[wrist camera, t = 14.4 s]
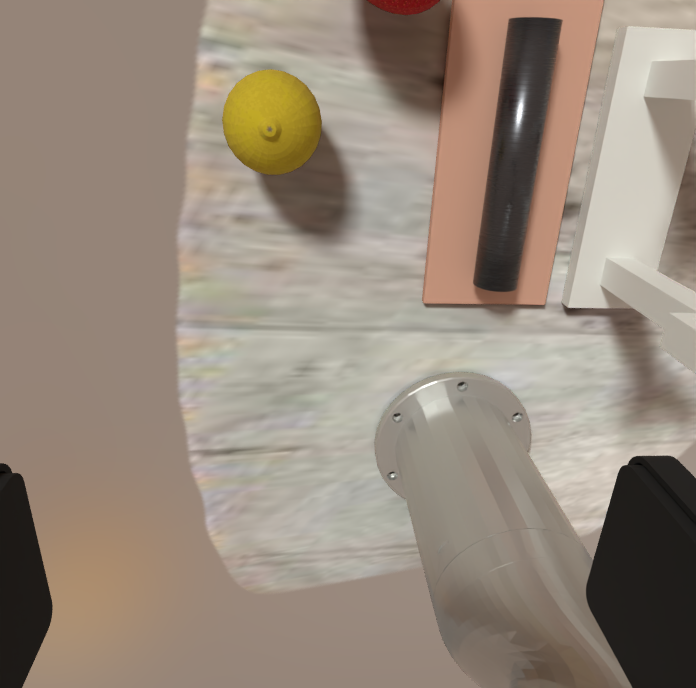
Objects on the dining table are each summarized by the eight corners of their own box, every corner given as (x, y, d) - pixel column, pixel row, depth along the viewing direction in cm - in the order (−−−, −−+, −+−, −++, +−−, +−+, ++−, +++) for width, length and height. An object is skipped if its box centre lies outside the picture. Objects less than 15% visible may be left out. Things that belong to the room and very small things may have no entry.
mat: (541, 301, 43) (544, 304, 43) (422, 300, 43) (423, 303, 42) (601, -12, 35) (606, -14, 35) (454, -21, 34) (456, -22, 34)
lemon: (337, 122, 37) (346, 134, 30) (274, 182, 38) (268, 207, 31) (275, 48, 35) (270, 42, 28) (211, 114, 36) (189, 125, 29)
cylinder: (508, 278, 42) (523, 292, 39) (467, 277, 42) (479, 291, 39) (550, 23, 35) (571, 19, 32) (501, 20, 35) (518, 16, 32)
